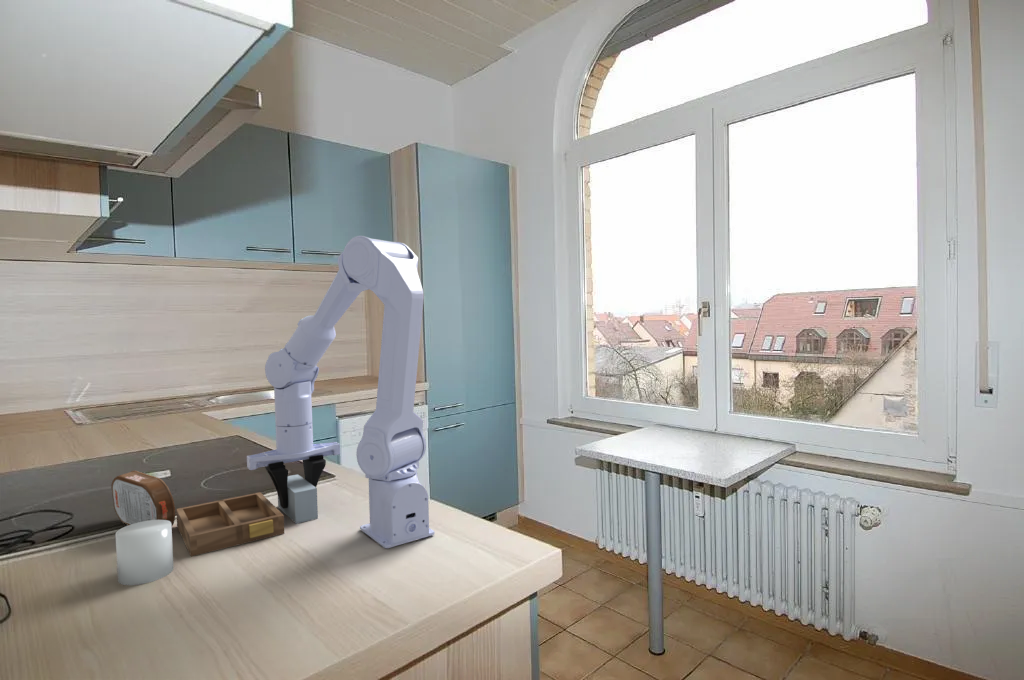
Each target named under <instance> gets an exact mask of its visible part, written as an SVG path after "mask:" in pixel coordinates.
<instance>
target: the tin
mask: <svg viewBox="0 0 1024 680" xmlns="http://www.w3.org/2000/svg"><path fill="white" fill-rule="evenodd" d="M110 487H111V494H112V496H111V497H112V501H113V509H114V512H115V514H116V516H117V517H118V519H119V520H120V522H121V523H122V522H123V524H124V523H125V524H128V525H131V524H134V523H138V522H143V521H149V520H168V521H170V522H171V526H172V527H173V526H174V524H175V519H176V507H175V506H176V505H175V501H174V498H173V495H172V492H171V490H170V488H169V486H168V485H167V484H166V482H165V481H164V480H163V479H162V478H159V477H157V476H154V475H150V474H147V473H144V472H140V471H138V470H131V471H130V472H126V473H122V474H120V475H117V476H115V477H114V479H113V480H112V482H111V486H110ZM125 524H124V525H125ZM128 525H127V526H128Z"/></svg>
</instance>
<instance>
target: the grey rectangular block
mask: <svg viewBox="0 0 1024 680" xmlns="http://www.w3.org/2000/svg"><path fill="white" fill-rule="evenodd" d="M287 493H288V508H285V509H283V508H282V507H281V506H280V501H279V497H278V496H277V507H278V508H279V509H280V510H281V511H282V512H283V514H285V515H286V516H287V517H288V518H289V519H290V520H291V521H292V522H293V523H294V524H295V525H296V524H300V523H305V522H308V521H312V520H317V519H319V516H318V514H319V511H318V488H317V487H315V486H313V485H312V484H310V483H309V482H308V481H306V480H305V477H303V476H301V475H299V474H298V473H297V474H293V475H288V480H287Z"/></svg>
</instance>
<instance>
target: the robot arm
mask: <svg viewBox="0 0 1024 680" xmlns="http://www.w3.org/2000/svg"><path fill="white" fill-rule="evenodd" d="M337 264H338V265H337V266H338V270H337V272H336V274H335V276H334V278H333V280H332V282H331V284H330V286H329V287H328V289H327V291H326V293H325V295H324V297H323V299H322V300H321V302H320V303H319V306H318V308H317V310H316V311H315V313H314V315H313V314H312V315H307V316H304V317H303V318H300V320H299V321H298V323H297V327H296V328H295V330H294V332H293V333H292V334H291V337H290V339H288V341H287V342H286V343H285V345H284V346H283V348H280V349H279V350H278V351H274V352H272V353H270V354H268V358H267V360H266V362H265V366H264V371H265V378H266V380H267V382H268V383H269V384H270V385H271V386H272V387H273V391H274V392H273V394H274V415H275V416H274V421H275V446H276V447H275V448H276V449H272V450H268V451H263V452H259V453H256V454H251V455H250V454H249V455H246V465H247V466H246V468H247V469H248V470H250V471H253V470H254V471H255V470H258V468H259V469H260V468H264V469H265V471H266V472H267V474H268V476H269V477H270V479H271V481H272V483H273V485H274V487H275V490H276V493H277V498H278V497H279V501H280V506H281V507H282V508H283V509H285V508H288V493H287V480H288V476H289V469H287V468H286V464H287V463H293V462H299V461H300V462H301V461H302V466H303V472H304V475H303V476H304V479H305V480H306V481H308V482H309V483H310V484H312V485H313V486H315V487H316V488H317V486H318V483H319V480H320V478H321V476H322V473H323V471H324V469H325V468H326V465H327V460H326V459H325V458H324V457H327V456H339V455H341V444H340V443H339V442H337V441H332V442H324V443H322V442H321V443H314V429H313V426H314V425H313V407H312V405H313V404H312V394H313V393H314V391H315V382H316V380H317V378H318V376H319V374H320V373H319V372H320V371H319V370H320V368H319V366H318V364H319V362H320V361H321V359H322V358H323V356H324V355H325V353H326V352H327V350H328V349H329V347H330V346H331V344H332V343H333V341H334V340H335V338H336V336H337V335H336V334H337V332H336V328H335V325H337V323H338V322H339V320H340V319H342V317H343V316H344V314H345V313H346V312H347V310H349V308H350V307H351V305H353V303H354V301H355V300H356V299H357V298H358V296H359V295H360V294H361V293H362V292H364V291H368V290H370V291H371V292H373V294H375V296H377V298H378V299H379V300H380V302H382V304H383V308H384V309H383V318H382V319H383V321H382V331H381V332H382V333H381V342H380V344H381V345H380V356H379V368H378V370H379V371H378V380H377V392H376V401H375V402H376V405H375V410H374V412H373V413H372V414H371V416H370V417H369V418H368V420H366V422H365V424H363V425H364V426H363V432H362V437H361V439H360V441H359V443H358V445H357V447H356V452H355V453H356V454H355V455H356V461H357V465H358V466H359V468H360V470H361V471H362V472H363V474H364V475H365V477H364V478H366V479H368V502H369V503H368V504H369V506H368V509H369V523H365V524H362V525H360V526H359V530H360V531H362V532H363V533H365V534H366V535H367V536H368V537H370V538H371V539H372V540H373V541H375V542H376V543H377V544H378V545H380V546H381V547H382V548H384V549H389V548H393V547H396V546H400V545H403V544H407V543H410V542H414V541H416V540H421V539H425V538H428V537H430V536H433V535H435V530H433V529H432V528H430V515H429V514H430V512H429V509H430V508H429V494H428V491H427V490H426V487H424V485H423V484H421V482H420V481H419V478H418V469H420V461H421V460H422V459H423V457H424V456H425V454H426V451H427V442H426V437H425V434H424V429H423V427H424V420H423V419H422V418H421V417H420V416H419V415H418V414H417V413H416V412H414V407H415V397H416V388H417V387H416V386H417V385H416V384H417V376H418V375H417V374H418V365H419V362H418V361H419V354H420V353H419V352H420V342H421V341H420V340H421V331H422V318H423V312H424V311H423V308H424V300H425V299H424V294H425V293H424V290H423V286H422V282H421V280H420V276H419V272H418V267H419V257H418V255H416V253H414V252H413V250H412V249H411V248H410V247H409V245H407V244H406V243H403V242H401V241H389V240H383V239H377V238H370V237H368V236H365V235H356V236H353V237H351V239H349V240H348V241H347V242H346V244H345V247H344V248H343V251H342V252H341V253H340V255H339V256H338V257H337Z"/></svg>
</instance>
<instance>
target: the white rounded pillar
mask: <svg viewBox="0 0 1024 680" xmlns="http://www.w3.org/2000/svg"><path fill="white" fill-rule="evenodd" d="M172 527H173V526H171V522H170V521H168V520H149V521H143V522H138V523H134V524H131V525H126V526H124V527H123V526H122V527H121V528H120V529H118V530H117V531H116V532H115V549H116V550H115V551H116V567H117V569H116V571H117V582H118V583H119V584H120V585H123V586H139V585H144V584H149V583H152V582H156V581H158V580H161V579H163V578H165V577H167V576H168V575H170V574H171V573H172V572H173V571H174V567H175V566H174V551H173V548H174V547H173V533H172V532H173V531H172V529H173V528H172Z"/></svg>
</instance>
